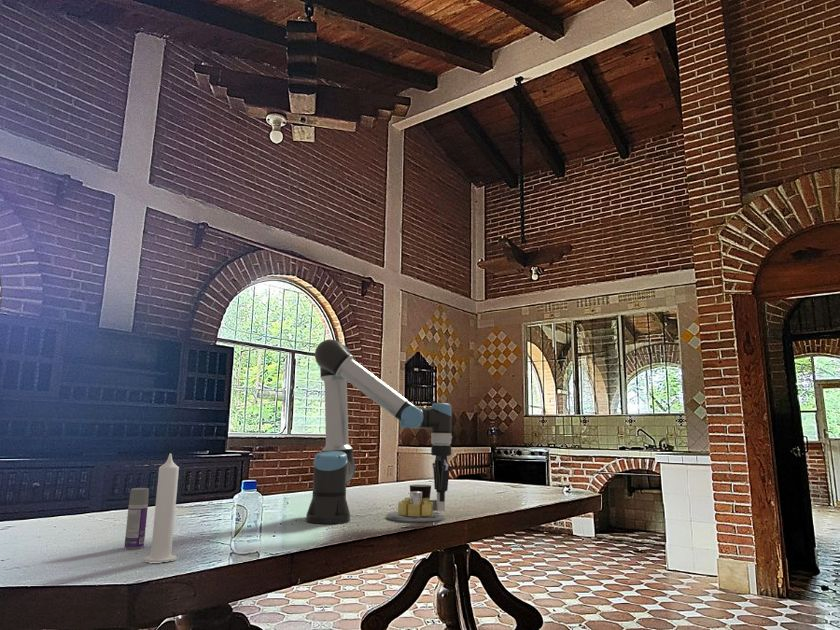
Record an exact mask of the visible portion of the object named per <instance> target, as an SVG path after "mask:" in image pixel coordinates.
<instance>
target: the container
mask: <svg viewBox="0 0 840 630" xmlns="http://www.w3.org/2000/svg"><path fill="white" fill-rule="evenodd" d="M149 495H150V488H148V487H136V488H135V487H134V488H131V489H130V493H129V501H128V508H127V516H126V517H127V518H126V528H125V539H124V545H123V546H124V548H126V549H125V550H134V549H133V548H140V549H142V548H141V547H143V548H144V546H145V537H146V527H147V518H148V507H149Z"/></svg>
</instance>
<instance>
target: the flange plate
mask: <svg viewBox="0 0 840 630" xmlns="http://www.w3.org/2000/svg"><path fill="white" fill-rule="evenodd" d="M409 498H410V504H421V500H422V492H418V491H413V492H410V491H409ZM445 517H446V516H445V514H444V513H441V512H439V511H438V512H437V511H433V515H431V516H420V517H418V516H403V515H399V514H398V511H392V512H388V513H387V514H386V519H387V520H389V521H393V522H397V523H398V522H399V523H409V522H410V523H411V524H414V523H415V524H417V523H419V524H420V523H421V524H423V523H437V522H441V521H444V520H445Z"/></svg>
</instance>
